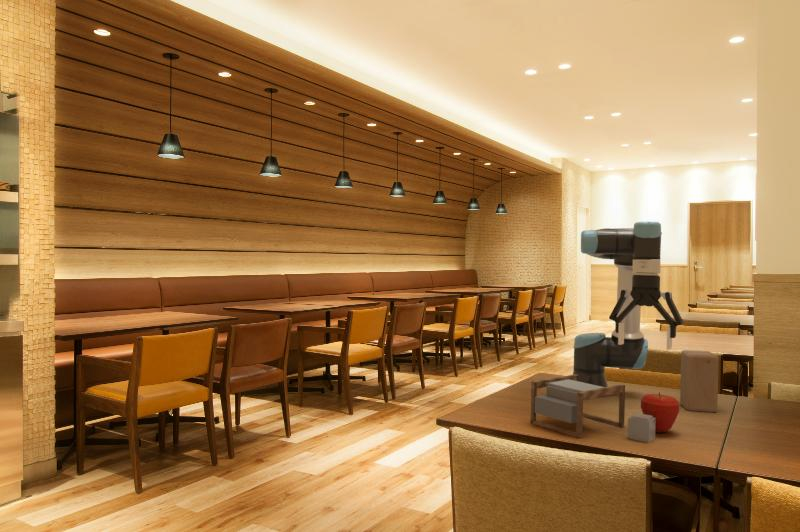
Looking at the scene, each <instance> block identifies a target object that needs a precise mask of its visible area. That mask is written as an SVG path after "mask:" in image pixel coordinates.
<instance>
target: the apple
mask: <svg viewBox="0 0 800 532" xmlns="http://www.w3.org/2000/svg"><path fill="white" fill-rule="evenodd" d="M640 409H641V411H642V414H645V415H651V416H653V417H654V418H656V425H655V433H666V432H668V431H669V430H671V429H672V427H674V426H673V425H674V424H675V422H676V421H677V418H678V415H679V413H680V401H678V400H677V399H676V398H675V397H673V396H671V395H665V394H661V393H660V391H659V392H658V394H656V393H648V394H644V395H643V396H642V397H641V399H640Z"/></svg>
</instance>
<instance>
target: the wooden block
mask: <svg viewBox="0 0 800 532" xmlns="http://www.w3.org/2000/svg"><path fill="white" fill-rule="evenodd" d="M680 357H681V358H680V395H679V404H680V406H681V405H682V407H684V408H685V409H686V410H687V411H690V412H692V411H693V412H703V413H706V412H707V413H715V412H717V411H718V401H719V400H718V399H719V398H718V395H719V393H718V392H719V390H718V389H719V360H720V359H719V356H718V355H717V354H714V353H713V352H710V351H706V350H691V349H690V350H686V349H684V350H682V351H681V353H680Z"/></svg>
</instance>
